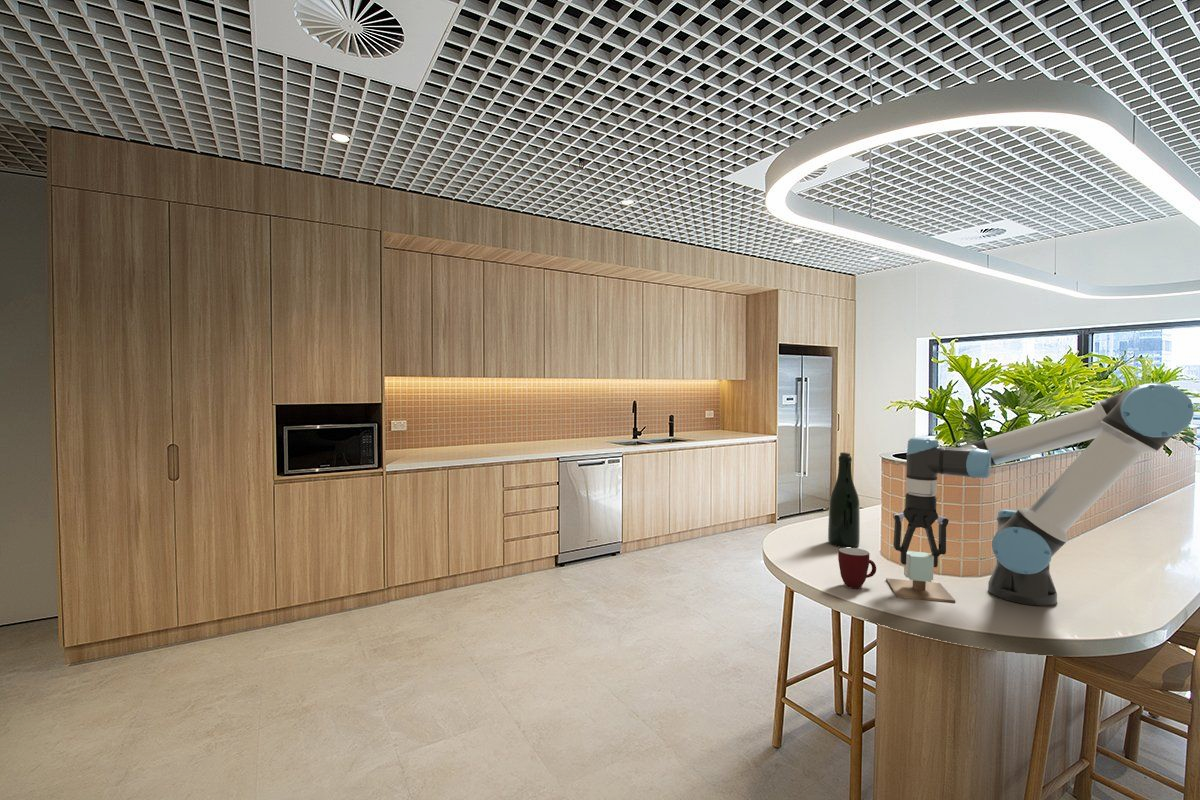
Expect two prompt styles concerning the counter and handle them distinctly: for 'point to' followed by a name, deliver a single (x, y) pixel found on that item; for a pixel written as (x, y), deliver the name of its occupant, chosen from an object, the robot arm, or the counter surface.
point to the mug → (854, 566)
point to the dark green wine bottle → (844, 507)
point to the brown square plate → (919, 590)
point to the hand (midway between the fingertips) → (918, 576)
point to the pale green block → (920, 566)
